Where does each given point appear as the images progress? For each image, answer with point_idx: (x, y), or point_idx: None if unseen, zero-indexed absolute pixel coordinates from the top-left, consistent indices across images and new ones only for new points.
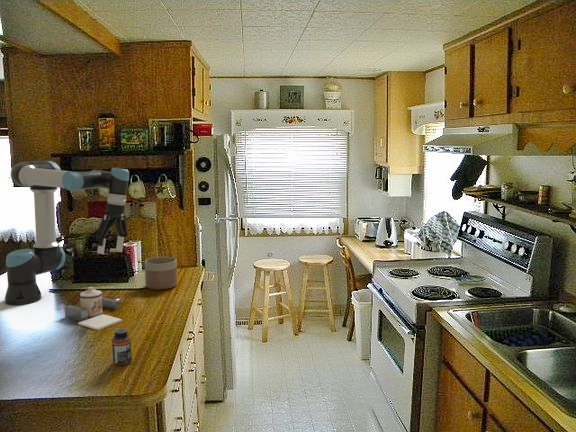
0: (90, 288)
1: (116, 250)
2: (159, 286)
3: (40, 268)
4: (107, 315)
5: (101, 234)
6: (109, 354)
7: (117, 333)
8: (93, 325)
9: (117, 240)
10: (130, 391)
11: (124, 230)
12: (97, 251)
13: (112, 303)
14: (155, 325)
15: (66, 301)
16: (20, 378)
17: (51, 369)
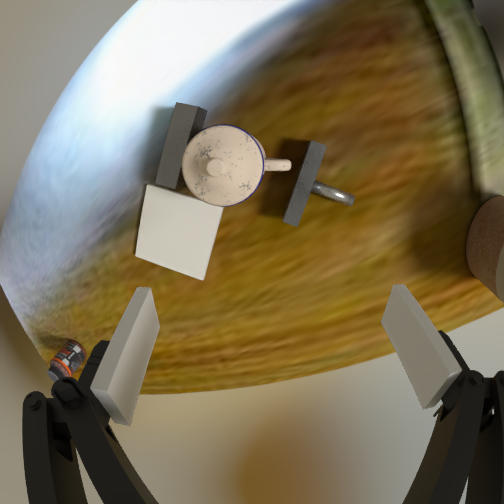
0: (207, 172)
1: (392, 289)
2: (469, 256)
3: None
4: (217, 227)
5: (56, 443)
6: (81, 325)
7: (48, 374)
8: (144, 236)
9: (430, 345)
10: None
11: (478, 437)
12: (133, 295)
13: (288, 204)
14: (206, 353)
15: (319, 20)
16: (7, 251)
17: (27, 273)
